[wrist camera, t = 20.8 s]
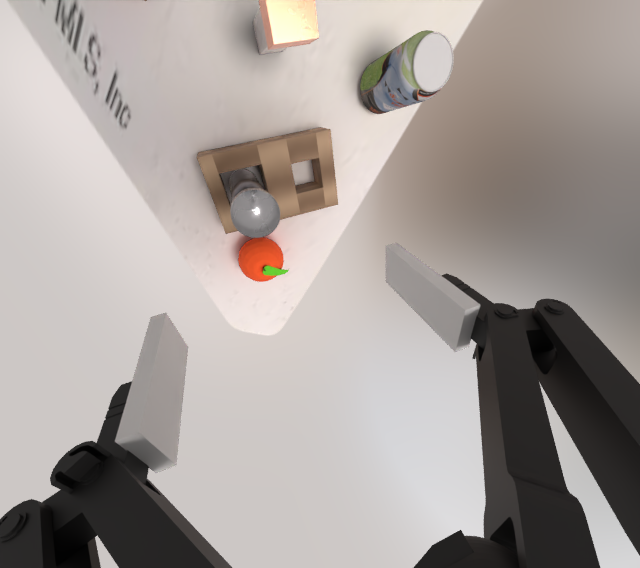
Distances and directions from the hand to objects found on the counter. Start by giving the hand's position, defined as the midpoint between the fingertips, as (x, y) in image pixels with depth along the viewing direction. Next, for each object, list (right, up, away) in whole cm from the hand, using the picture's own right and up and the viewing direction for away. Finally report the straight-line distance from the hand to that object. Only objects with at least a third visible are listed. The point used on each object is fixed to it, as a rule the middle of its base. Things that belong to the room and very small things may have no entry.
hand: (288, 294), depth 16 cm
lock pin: (-4, +29, +15) cm, 33 cm away
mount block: (-5, +16, +23) cm, 29 cm away
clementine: (-8, +6, +29) cm, 31 cm away
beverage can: (+10, +29, +21) cm, 37 cm away
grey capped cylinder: (-9, +15, +23) cm, 29 cm away
